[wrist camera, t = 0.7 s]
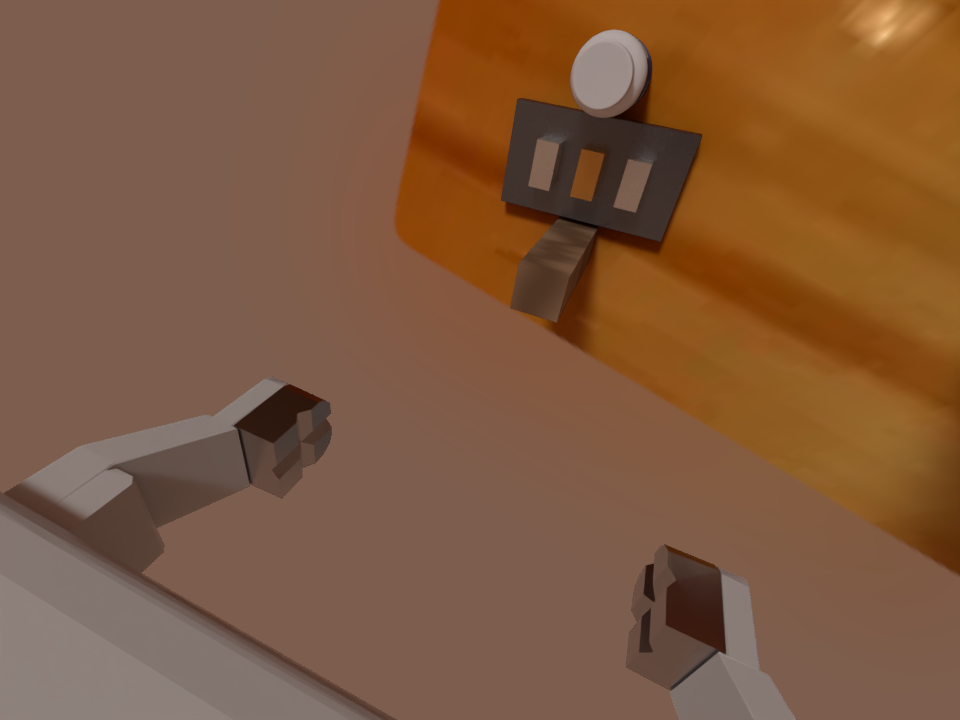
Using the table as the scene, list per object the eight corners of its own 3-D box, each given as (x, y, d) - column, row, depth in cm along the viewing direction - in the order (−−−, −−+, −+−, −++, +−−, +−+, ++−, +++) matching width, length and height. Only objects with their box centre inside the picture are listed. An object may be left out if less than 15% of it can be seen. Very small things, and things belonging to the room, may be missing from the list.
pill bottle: (618, 125, 39) (601, 139, 32) (573, 83, 39) (545, 86, 31) (667, 66, 36) (662, 66, 28) (619, 19, 36) (600, 5, 28)
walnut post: (598, 226, 44) (569, 277, 33) (587, 263, 47) (556, 322, 36) (559, 216, 45) (519, 262, 34) (550, 253, 48) (510, 308, 37)
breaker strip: (701, 134, 37) (702, 139, 35) (661, 237, 43) (659, 248, 40) (522, 98, 41) (510, 100, 38) (505, 197, 46) (494, 205, 44)
